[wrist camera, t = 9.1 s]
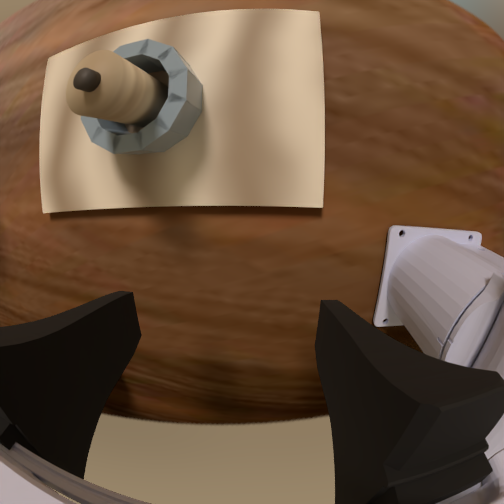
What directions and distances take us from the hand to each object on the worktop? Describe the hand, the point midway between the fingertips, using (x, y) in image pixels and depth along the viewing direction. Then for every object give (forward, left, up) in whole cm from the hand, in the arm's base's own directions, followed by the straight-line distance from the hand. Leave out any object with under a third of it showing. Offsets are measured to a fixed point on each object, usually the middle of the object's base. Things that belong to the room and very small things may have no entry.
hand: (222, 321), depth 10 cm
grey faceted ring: (+6, -10, -9) cm, 14 cm away
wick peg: (+6, -10, -9) cm, 14 cm away
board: (+6, -10, -9) cm, 15 cm away
